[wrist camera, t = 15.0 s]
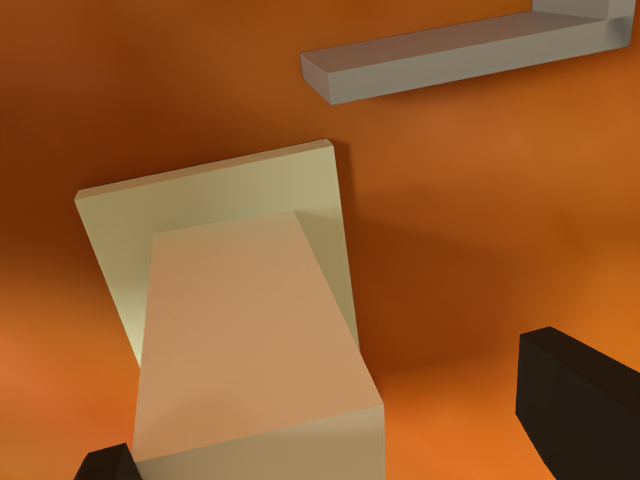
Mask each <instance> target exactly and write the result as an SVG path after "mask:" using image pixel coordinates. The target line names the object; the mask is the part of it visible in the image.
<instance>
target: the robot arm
mask: <svg viewBox="0 0 640 480" xmlns="http://www.w3.org/2000/svg"><path fill="white" fill-rule="evenodd" d="M515 414H516V415H517V417H518V419H519V421H520V422H521V424H522V426H523V428H524V429H525V431H526V433H527V435H528V437H529V438H530V440H531V442H532V443H533V445H534V447H535V448H536V450H537V452H538V453H539V455H540V457H541V458H542V460H543V462H544V463H545V465H546V466H547V468H548V469H549V470H550V472H551V473H552V474H553V476H554V477H555V478H556V480H640V373H639V372H637V371H635V370H633V369H631V368H629V367H627V366H625V365H624V364H622V363H620V362H618V361H616V360H614V359H612V358H610V357H608V356H606V355H605V354H603V353H601V352H599V351H597V350H595V349H593V348H591V347H589V346H588V345H586V344H584V343H582V342H580V341H578V340H576V339H574V338H572V337H570V336H568V335H566V334H565V333H563V332H561V331H559V330H556V329H554V328H552V327H550V326H549V327H545V328H542V329H538V330H535V331H531V332H527V333H524V334H520V343H519V360H518V377H517V395H516V412H515ZM74 480H142V478H141V475H140V473H139V471H138V469H137V466H136V464H135V462H134V460H133V458H132V455H131V453H130V451H129V449H128V447H127V444H126V443H123V444H119V445H116V446H112V447H108V448H105V449H101V450H97V451H94V452H90V453H88V454H87V456H86V457H85V459H84V460H83V462H82V464H81V466H80V468H79V470H78V472H77V474H76V476H75V478H74Z"/></svg>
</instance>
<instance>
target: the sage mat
mask: <svg viewBox="0 0 640 480" xmlns="http://www.w3.org/2000/svg"><path fill="white" fill-rule="evenodd" d="M74 202H75V204H76V207H77V209H78V212H79V214H80V217H81V220H82V222H83V225H84V227H85V230H86V232H87V235H88V237H89V240H90V242H91V245H92V247H93V250H94V252H95V255H96V257H97V260H98V263H99V265H100V268H101V270H102V273H103V275H104V278H105V280H106V283H107V285H108V288H109V290H110V293H111V295H112V298H113V301H114V303H115V306H116V308H117V311H118V313H119V316H120V318H121V321H122V323H123V326H124V328H125V331H126V333H127V336H128V339H129V341H130V344H131V346H132V349H133V351H134V354H135V356H136V359H137V361H138V364H139V366H140V367H141V357H142V346H143V336H144V326H145V316H146V306H147V295H148V285H149V275H150V265H151V255H152V245H153V234H154V233H157V232H163V231H169V230H175V229H181V228H187V227H193V226H199V225H205V224H211V223H218V222H224V221H230V220H236V219H242V218H248V217H254V216H260V215H266V214H272V213H278V212H284V211H290V210H294V213H295V215H296V217H297V219H298V221H299V223H300V225H301V228H302V230H303V232H304V234H305V236H306V238H307V240H308V243H309V245H310V247H311V249H312V251H313V253H314V255H315V258H316V260H317V262H318V264H319V266H320V268H321V270H322V273H323V275H324V277H325V279H326V281H327V283H328V285H329V288H330V290H331V292H332V294H333V296H334V298H335V300H336V303H337V305H338V307H339V309H340V311H341V313H342V315H343V318H344V320H345V322H346V324H347V326H348V328H349V330H350V333H351V335H352V337H353V339H354V341H355V343H356V345H357V348H358V350H359V352H360V348H359V340H358V332H357V325H356V317H355V309H354V301H353V294H352V286H351V278H350V270H349V263H348V255H347V247H346V239H345V232H344V224H343V216H342V208H341V201H340V193H339V185H338V177H337V170H336V162H335V154H334V146H333V144H332V143H331V142H330V141H329V140H328V139H323V140H318V141H313V142H308V143H303V144H298V145H294V146H289V147H284V148H279V149H274V150H270V151H265V152H260V153H255V154H250V155H246V156H241V157H236V158H231V159H226V160H221V161H217V162H212V163H207V164H202V165H197V166H193V167H188V168H183V169H178V170H173V171H169V172H164V173H159V174H154V175H149V176H144V177H140V178H135V179H130V180H125V181H120V182H116V183H111V184H106V185H101V186H96V187H92V188H87V189H82V190H78V192H77V194H76V196H75V199H74Z"/></svg>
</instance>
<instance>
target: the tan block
mask: <svg viewBox="0 0 640 480" xmlns="http://www.w3.org/2000/svg"><path fill="white" fill-rule="evenodd" d="M132 458H133V460H134V462H135V464H136V466H137V469H138V471H139V473H140V475H141V478H142V480H386V472H385V429H384V403H383V401H382V399H381V397H380V395H379V393H378V390H377V388H376V386H375V384H374V382H373V380H372V378H371V375H370V373H369V371H368V369H367V367H366V365H365V363H364V360H363V358H362V356H361V354H360V352H359V350H358V348H357V345H356V343H355V341H354V339H353V337H352V335H351V333H350V330H349V328H348V326H347V324H346V322H345V320H344V318H343V315H342V313H341V311H340V309H339V307H338V305H337V303H336V300H335V298H334V296H333V294H332V292H331V290H330V288H329V285H328V283H327V281H326V279H325V277H324V275H323V273H322V270H321V268H320V266H319V264H318V262H317V260H316V258H315V255H314V253H313V251H312V249H311V247H310V245H309V243H308V240H307V238H306V236H305V234H304V232H303V230H302V228H301V225H300V223H299V221H298V219H297V217H296V215H295V213H294V210H290V211H284V212H278V213H272V214H266V215H260V216H254V217H248V218H242V219H236V220H230V221H224V222H218V223H211V224H205V225H199V226H193V227H187V228H181V229H175V230H169V231H163V232H157V233H154V234H153V245H152V255H151V265H150V275H149V285H148V295H147V306H146V316H145V326H144V336H143V346H142V357H141V367H140V377H139V387H138V397H137V407H136V418H135V428H134V438H133V448H132Z"/></svg>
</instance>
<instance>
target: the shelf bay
mask: <svg viewBox="0 0 640 480" xmlns="http://www.w3.org/2000/svg"><path fill="white" fill-rule="evenodd" d="M635 3H636V0H533V3H532V11H527V12H522V13H517V14H511V15H506V16H500V17H495V18H489V19H484V20H478V21H473V22H468V23H462V24H457V25H451V26H446V27H440V28H435V29H429V30H424V31H419V32H413V33H408V34H402V35H397V36H391V37H386V38H380V39H375V40H370V41H364V42H359V43H353V44H348V45H342V46H337V47H331V48H326V49H320V50H315V51H310V52H304V53H300V59H301V66H302V73H303V79H304V81H305V82H306V83H307V84H309V85H310V86H311V87H312V88H313V89H314V90H315V91H316V92H317V93H318V94H319V95H321V96H322V97H323V98H324V99H325V100H326V101H327V102H328V103H329V104H330V105H336V104H341V103H346V102H351V101H356V100H361V99H366V98H371V97H376V96H381V95H386V94H391V93H396V92H401V91H406V90H411V89H416V88H421V87H426V86H431V85H436V84H442V83H447V82H452V81H457V80H462V79H467V78H472V77H477V76H482V75H487V74H492V73H497V72H502V71H507V70H512V69H517V68H522V67H527V66H532V65H537V64H542V63H547V62H552V61H557V60H562V59H567V58H572V57H577V56H582V55H587V54H592V53H597V52H602V51H607V50H612V49H617V48H622V47H627V46H630V39H631V32H632V25H633V18H634V10H635Z"/></svg>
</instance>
